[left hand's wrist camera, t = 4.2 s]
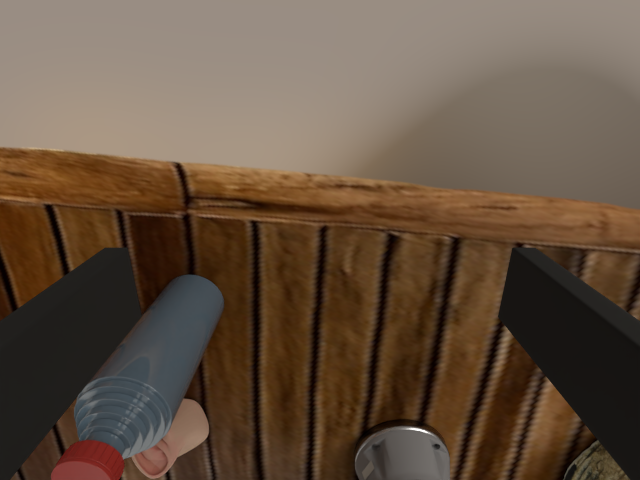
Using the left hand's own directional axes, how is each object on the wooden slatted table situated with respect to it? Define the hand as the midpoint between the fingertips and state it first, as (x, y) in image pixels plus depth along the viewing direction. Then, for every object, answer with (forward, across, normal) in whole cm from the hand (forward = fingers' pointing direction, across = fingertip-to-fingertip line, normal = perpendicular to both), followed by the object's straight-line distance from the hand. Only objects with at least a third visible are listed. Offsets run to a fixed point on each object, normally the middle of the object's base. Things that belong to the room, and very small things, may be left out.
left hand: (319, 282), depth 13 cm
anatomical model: (+32, +24, +43) cm, 59 cm away
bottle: (+32, +17, +20) cm, 42 cm away
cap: (+7, +17, +20) cm, 28 cm away
